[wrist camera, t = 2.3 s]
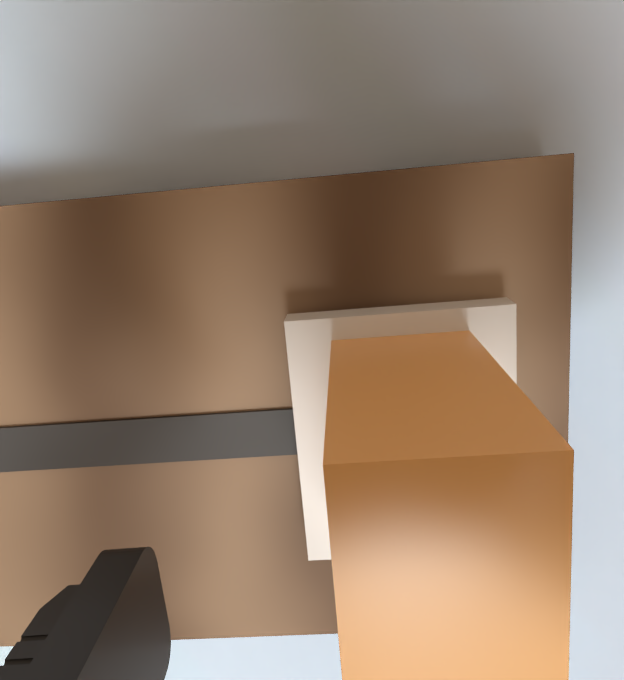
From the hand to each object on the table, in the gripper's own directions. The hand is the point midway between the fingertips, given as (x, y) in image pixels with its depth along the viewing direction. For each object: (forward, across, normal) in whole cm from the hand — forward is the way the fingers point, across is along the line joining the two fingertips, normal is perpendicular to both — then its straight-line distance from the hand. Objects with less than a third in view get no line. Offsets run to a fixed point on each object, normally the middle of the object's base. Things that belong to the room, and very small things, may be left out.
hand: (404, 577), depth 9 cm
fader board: (+8, +6, 0) cm, 10 cm away
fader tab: (+5, -1, 0) cm, 5 cm away
